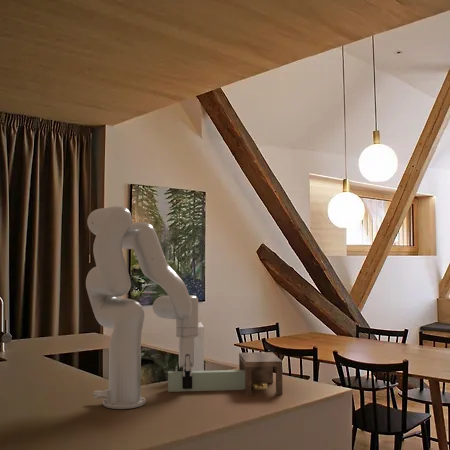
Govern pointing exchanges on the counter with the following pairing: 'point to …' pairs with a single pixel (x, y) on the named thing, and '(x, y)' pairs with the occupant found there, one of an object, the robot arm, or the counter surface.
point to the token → (259, 386)
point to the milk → (199, 349)
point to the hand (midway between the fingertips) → (187, 386)
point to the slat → (208, 380)
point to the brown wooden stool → (260, 369)
